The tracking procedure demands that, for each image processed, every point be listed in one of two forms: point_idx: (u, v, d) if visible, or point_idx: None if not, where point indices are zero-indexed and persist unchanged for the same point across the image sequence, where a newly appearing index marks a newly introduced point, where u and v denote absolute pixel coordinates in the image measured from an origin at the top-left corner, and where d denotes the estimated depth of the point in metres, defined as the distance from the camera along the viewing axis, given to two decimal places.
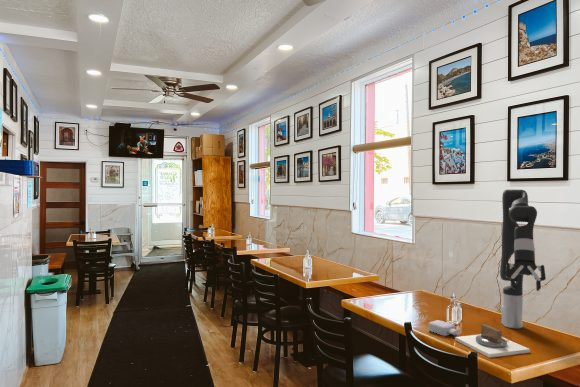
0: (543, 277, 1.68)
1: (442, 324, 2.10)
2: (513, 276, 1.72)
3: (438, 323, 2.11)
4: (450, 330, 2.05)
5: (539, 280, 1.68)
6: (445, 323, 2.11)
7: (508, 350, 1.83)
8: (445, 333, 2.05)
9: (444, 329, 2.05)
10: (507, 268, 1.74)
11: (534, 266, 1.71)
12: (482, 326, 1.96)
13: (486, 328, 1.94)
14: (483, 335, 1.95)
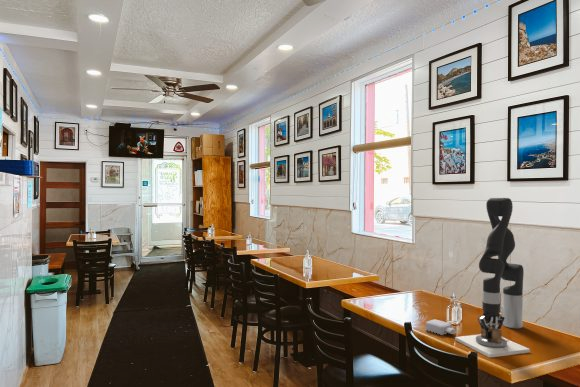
0: (499, 327, 1.92)
1: (439, 323, 2.11)
2: (489, 329, 1.91)
3: (435, 322, 2.12)
4: (447, 329, 2.07)
5: None
6: (442, 322, 2.12)
7: (508, 350, 1.83)
8: (442, 332, 2.07)
9: (441, 328, 2.07)
10: (483, 323, 1.90)
11: (498, 315, 1.92)
12: None
13: None
14: (483, 335, 1.95)
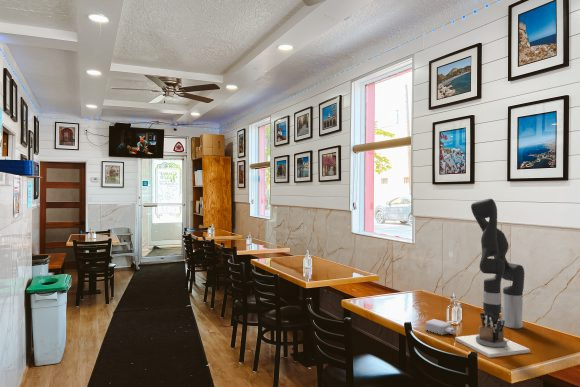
0: None
1: (438, 323, 2.12)
2: None
3: (435, 322, 2.13)
4: (447, 329, 2.07)
5: None
6: (441, 322, 2.13)
7: (508, 350, 1.83)
8: (442, 332, 2.07)
9: (441, 328, 2.07)
10: None
11: None
12: (481, 328, 1.93)
13: (487, 329, 1.92)
14: (483, 337, 1.92)
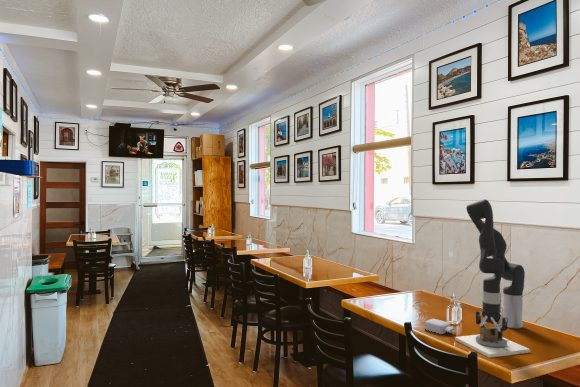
0: None
1: (438, 322, 2.13)
2: None
3: (434, 322, 2.14)
4: (446, 328, 2.08)
5: None
6: (441, 321, 2.14)
7: (508, 350, 1.83)
8: (441, 331, 2.08)
9: (440, 327, 2.08)
10: None
11: None
12: (484, 330, 1.90)
13: (489, 330, 1.91)
14: (486, 339, 1.91)
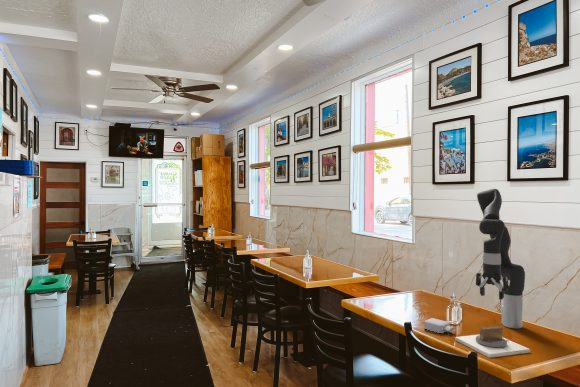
0: None
1: (437, 322, 2.13)
2: None
3: (433, 321, 2.14)
4: (446, 328, 2.09)
5: None
6: (440, 321, 2.15)
7: (508, 350, 1.83)
8: (441, 331, 2.09)
9: (440, 327, 2.09)
10: None
11: None
12: (484, 330, 1.90)
13: (489, 330, 1.91)
14: (486, 339, 1.91)
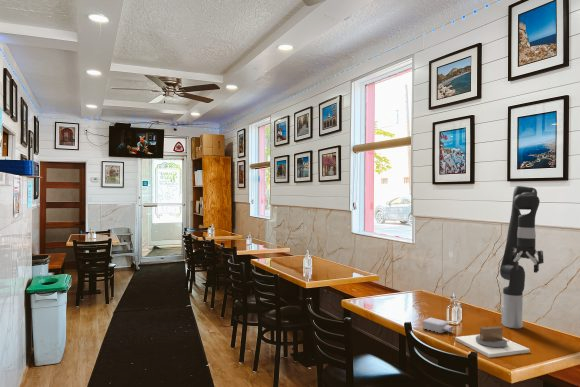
0: None
1: (436, 321, 2.14)
2: None
3: (432, 321, 2.15)
4: (445, 327, 2.10)
5: None
6: (439, 320, 2.16)
7: (508, 350, 1.83)
8: (440, 330, 2.10)
9: (439, 326, 2.10)
10: None
11: None
12: (484, 330, 1.90)
13: (489, 330, 1.91)
14: (486, 339, 1.91)
